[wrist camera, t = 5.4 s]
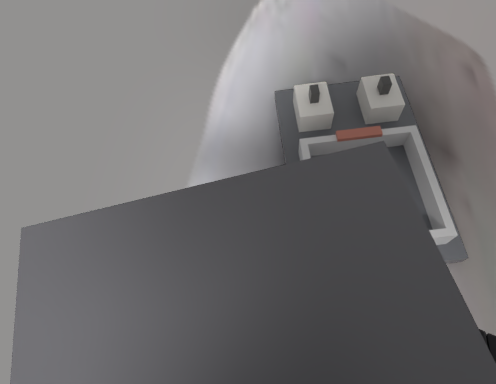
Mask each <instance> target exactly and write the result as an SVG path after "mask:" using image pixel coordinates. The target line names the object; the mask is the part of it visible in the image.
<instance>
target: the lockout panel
mask: <svg viewBox="0 0 496 384" xmlns="http://www.w3.org/2000/svg"><path fill="white" fill-rule="evenodd" d="M275 102H276V109H277V115H278V121H279V127H280V134H281V140H282V146H283V152H284V159H285V164H289V163H293V162H297V161H301V160H305V159H310V158H314V157H318V156H322V155H326V154H330V153H334V152H339V151H343V150H347V149H351V148H355V147H359V146H364V145H368V144H372V143H376V142H380V141H384V142H385V144H386V146H387V148H388V150H389V152H390V154H391V156H392V158H393V160H394V162H395V163H396V165H397V167H398V169H399V171H400V173H401V175H402V177H403V179H404V181H405V183H406V185H407V187H408V189H409V191H410V193H411V195H412V197H413V199H414V201H415V203H416V205H417V207H418V209H419V211H420V213H421V215H422V217H423V219H424V221H425V223H426V225H427V227H428V229H429V231H430V233H431V235H432V237H433V239H434V241H435V243H436V245H437V247H438V249H439V251H440V253H441V255H442V257H443V259H444V261H445V263H453V262H462V261H464V260H466V259H467V258H468V255H467V253H466V250H465V248H464V245H463V242H462V240H461V237H460V234H459V232H458V229H457V227H456V224H455V221H454V219H453V216H452V214H451V211H450V208H449V206H448V203H447V200H446V198H445V195H444V193H443V190H442V187H441V185H440V182H439V180H438V177H437V174H436V172H435V169H434V166H433V164H432V161H431V159H430V156H429V153H428V151H427V148H426V146H425V143H424V140H423V138H422V135H421V132H420V130H419V127H418V125H417V122H416V119H415V117H414V114H413V112H412V109H411V106H410V104H409V101H408V98H407V96H406V93H405V91H404V88H403V85H402V83H401V80H400V78H399V76H394V73H390V74H382V75H374V76H366V77H361V79H360V81H354V82H346V83H338V84H330V85H327V83H326V81H325V82H317V83H309V84H301V85H294V89H289V90H281V91H275Z"/></svg>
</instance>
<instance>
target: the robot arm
mask: <svg viewBox="0 0 496 384" xmlns="http://www.w3.org/2000/svg"><path fill="white" fill-rule="evenodd" d="M479 331H480V333H481V335H482V337H483V339H484V341H485V343H486V345H487V347H488V349H489V351H490V353H491V355H492V357H493V359H494V361H495V363H496V336H494V335H492V334H489V333H488V334H487V336H486V332H485V331H482V330H480V329H479Z"/></svg>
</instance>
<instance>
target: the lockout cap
mask: <svg viewBox="0 0 496 384" xmlns="http://www.w3.org/2000/svg"><path fill="white" fill-rule="evenodd" d="M10 384H496V363H495V361H494V359H493V357H492V355H491V353H490V351H489V349H488V347H487V345H486V343H485V341H484V339H483V337H482V335H481V333H480V331H479V329H478V327H477V325H476V323H475V321H474V319H473V317H472V315H471V313H470V311H469V309H468V307H467V305H466V303H465V301H464V299H463V297H462V295H461V293H460V291H459V289H458V287H457V285H456V283H455V281H454V279H453V277H452V275H451V273H450V271H449V269H448V267H447V265H446V263H445V261H444V259H443V257H442V255H441V253H440V251H439V249H438V247H437V245H436V243H435V241H434V239H433V237H432V235H431V233H430V231H429V229H428V227H427V225H426V223H425V221H424V219H423V217H422V215H421V213H420V211H419V209H418V207H417V205H416V203H415V201H414V199H413V197H412V195H411V193H410V191H409V189H408V187H407V185H406V183H405V181H404V179H403V177H402V175H401V173H400V171H399V169H398V167H397V165H396V163H395V162H394V160H393V158H392V156H391V154H390V152H389V150H388V148H387V146H386V144H385V142H384V141H380V142H376V143H372V144H368V145H364V146H359V147H355V148H351V149H347V150H343V151H339V152H334V153H330V154H326V155H322V156H318V157H314V158H310V159H305V160H301V161H297V162H293V163H289V164H285V165H281V166H276V167H272V168H268V169H264V170H260V171H256V172H251V173H247V174H243V175H239V176H235V177H231V178H227V179H222V180H218V181H214V182H210V183H206V184H202V185H197V186H193V187H189V188H185V189H181V190H177V191H173V192H169V193H164V194H160V195H156V196H152V197H148V198H143V199H139V200H135V201H131V202H127V203H123V204H119V205H114V206H111V207H106V208H102V209H98V210H94V211H90V212H86V213H81V214H77V215H73V216H69V217H65V218H60V219H56V220H52V221H48V222H44V223H40V224H36V225H31V226H27V227H23V228H22V229H21V241H20V255H19V269H18V282H17V297H16V311H15V324H14V339H13V352H12V367H11V380H10Z"/></svg>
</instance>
